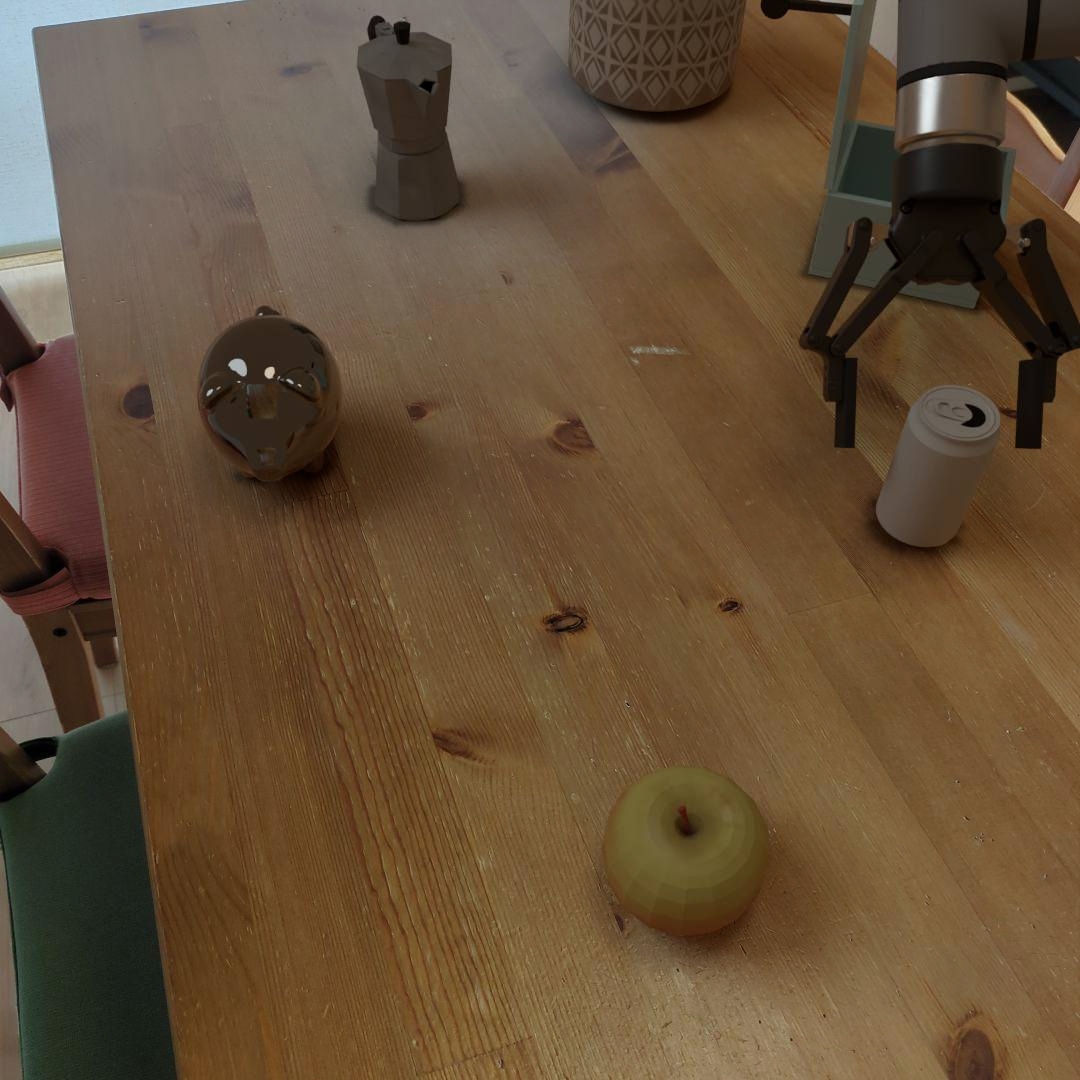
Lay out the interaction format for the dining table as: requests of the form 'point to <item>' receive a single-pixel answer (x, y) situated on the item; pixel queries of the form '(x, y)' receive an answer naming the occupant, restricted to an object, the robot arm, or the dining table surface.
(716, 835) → the apple
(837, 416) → the robot arm
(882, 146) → the open box
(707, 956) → the dining table surface
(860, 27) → the lid
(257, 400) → the piggy bank
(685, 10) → the planter
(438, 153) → the coffeepot
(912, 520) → the beverage can
